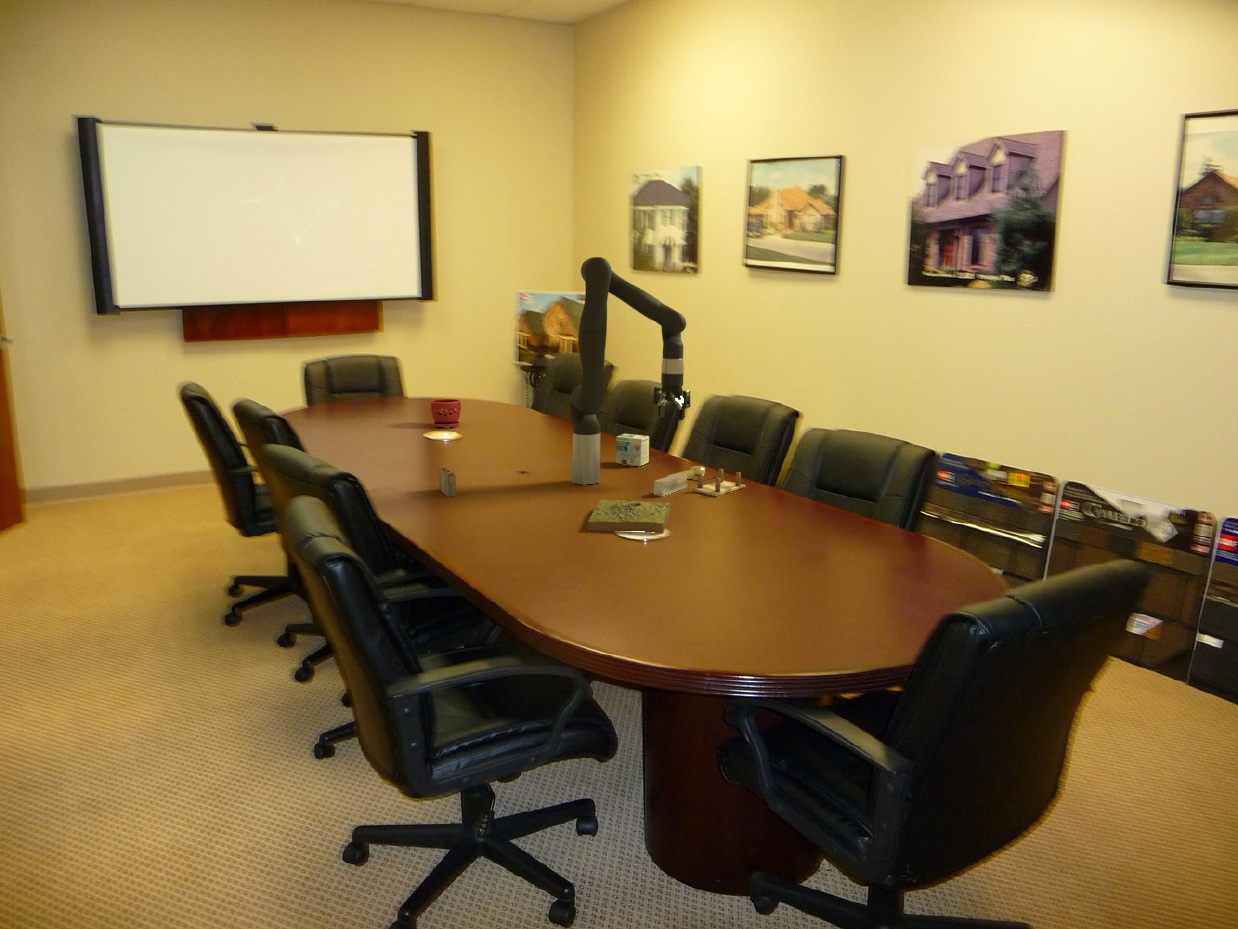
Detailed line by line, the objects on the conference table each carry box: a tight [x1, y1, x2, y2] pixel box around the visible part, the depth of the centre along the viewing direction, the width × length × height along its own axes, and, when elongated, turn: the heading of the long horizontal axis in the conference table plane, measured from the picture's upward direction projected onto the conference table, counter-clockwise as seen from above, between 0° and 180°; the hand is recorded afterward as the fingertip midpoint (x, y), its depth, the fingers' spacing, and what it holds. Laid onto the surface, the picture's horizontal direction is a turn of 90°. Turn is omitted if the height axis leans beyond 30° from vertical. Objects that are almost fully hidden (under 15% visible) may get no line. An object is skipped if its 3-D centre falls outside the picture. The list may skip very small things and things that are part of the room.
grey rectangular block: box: [653, 472, 688, 497], centre depth 320 cm, size 14×4×5 cm, turn 142°
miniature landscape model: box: [586, 499, 671, 534], centre depth 285 cm, size 22×24×5 cm
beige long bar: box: [665, 465, 706, 480], centre depth 336 cm, size 18×5×3 cm, turn 137°
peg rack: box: [692, 468, 746, 497], centre depth 322 cm, size 16×10×6 cm, turn 137°
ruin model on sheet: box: [438, 466, 457, 498], centre depth 316 cm, size 11×3×10 cm, turn 25°
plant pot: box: [430, 398, 462, 429], centre depth 432 cm, size 13×13×12 cm
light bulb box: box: [615, 433, 650, 466], centre depth 359 cm, size 11×7×11 cm, turn 62°
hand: (671, 418), depth 334 cm, fingers open, 8 cm apart
